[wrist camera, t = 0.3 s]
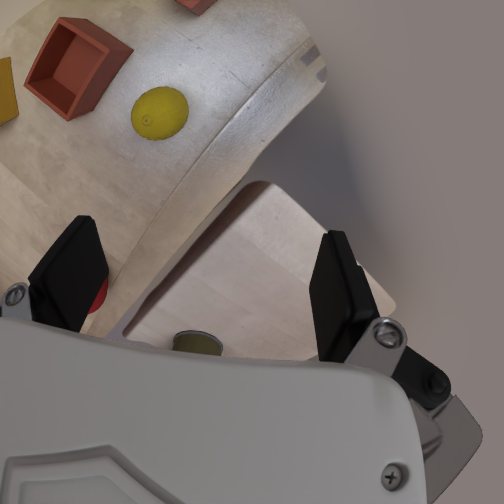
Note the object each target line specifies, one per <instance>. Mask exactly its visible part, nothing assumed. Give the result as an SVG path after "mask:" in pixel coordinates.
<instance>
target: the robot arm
mask: <svg viewBox="0 0 504 504" xmlns="http://www.w3.org/2000/svg"><path fill="white" fill-rule="evenodd" d="M108 273H109V268H108V264H107V261H106V258H105V255H104V252H103V248H102V245H101V242H100V238H99V235H98V231H97V227H96V224H95V221H94V220H93V219H92V218H91V216H86V215H79V216H77V217H76V218H75V219H74V220H73V221H72V222H71V223H70V225H69V226H68V227H67V228H66V229H65V230H64V232H63V233H62V234H61V235H60V236H59V238H58V239H57V240H56V241H55V243H54V244H53V245H52V246H51V248H50V249H49V250H48V251H47V253H46V254H45V255H44V257H43V258H42V259H41V260H40V262H39V263H38V264H37V266H36V267H35V269H34V270H33V271H32V273H31V274H30V276H29V277H28V280H29V282H30V286H29V287H28V285H27V284H26V283H23V282H20V283H16V284H14V285H12V286H11V287H9V288H8V289H7V290H6V292H5V293H4V295H3V297H2V306H1V307H0V504H432V503H434V502H435V500H436V499H437V498H438V497H439V496H440V495H441V494H442V493H443V492H444V491H445V490H446V488H447V487H448V486H449V485H450V484H451V483H452V482H453V480H454V479H455V478H456V477H457V476H458V475H459V473H460V472H461V471H462V470H463V468H464V467H465V466H466V464H467V463H468V462H469V461H470V459H471V458H472V456H473V455H474V454H475V452H476V451H477V449H478V448H479V447H480V444H481V442H482V437H483V435H482V429H481V427H480V425H479V424H478V423H477V421H476V420H475V419H474V417H473V416H472V415H471V413H470V412H469V411H468V409H467V408H466V407H465V406H464V404H463V403H462V402H461V400H460V399H459V398H458V397H457V395H454V396H452V395H451V393H450V392H451V384H450V381H449V378H448V377H447V375H446V374H445V373H444V372H443V371H442V370H440V369H439V368H438V367H436V366H434V364H432V363H431V362H429V361H428V360H426V359H425V358H424V357H422V356H421V355H419V354H418V353H416V352H415V351H414V350H412V349H411V348H410V347H408V346H407V345H406V344H407V334H406V332H405V330H404V328H403V327H402V326H401V324H399V323H398V322H397V321H396V320H393V319H391V318H387V317H380V315H379V312H378V309H377V306H376V303H375V300H374V297H373V295H372V292H371V289H370V286H369V284H368V281H367V278H366V276H365V273H364V270H363V268H362V267H361V266H358V265H357V263H356V260H355V258H354V255H353V252H352V250H351V247H350V245H349V243H348V240H347V237H346V235H345V233H344V232H343V231H335V230H329V231H328V234H327V233H324V234H323V237H322V241H321V244H320V248H319V252H318V256H317V259H316V263H315V267H314V270H313V274H312V277H311V281H310V285H309V294H310V300H311V306H312V313H313V319H314V326H315V333H316V340H317V348H318V355H319V361H320V362H317V361H292V360H271V359H253V358H238V357H226V356H215V355H205V354H196V353H188V352H180V351H172V350H165V349H159V348H152V347H145V346H140V345H134V344H128V343H123V342H118V341H113V340H108V339H103V338H99V337H94V336H90V335H85V334H81V333H79V332H80V330H81V328H82V325H83V323H84V321H85V319H86V317H87V315H88V313H89V311H90V309H91V307H92V305H93V303H94V301H95V299H96V297H97V295H98V293H99V291H100V289H101V287H102V285H103V283H104V282H105V280H106V278H107V276H108Z"/></svg>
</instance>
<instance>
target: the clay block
mask: <svg viewBox="0 0 504 504" xmlns="http://www.w3.org/2000/svg"><path fill="white" fill-rule="evenodd" d="M175 1H177V2H178V3H180V4H182V5H183V6H185V7H186V8H188V9H189V10H191V11H192V12H194V13H195V14H197V15H198V16H200V15H201V14H202V13H204V12H205V11H206V10H207V9H208V8H209V7H210V6H211V5H212V4H213V3H215V2H216V1H217V0H175Z"/></svg>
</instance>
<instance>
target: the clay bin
mask: <svg viewBox="0 0 504 504" xmlns="http://www.w3.org/2000/svg"><path fill="white" fill-rule="evenodd" d="M133 51H134V50H133V49H131V48H130V47H128V46H127V45H126V44H124V43H123V42H121V41H120V40H118V39H117V38H115V37H114V36H112V35H111V34H109V33H108V32H106V31H104V30H103V29H101V28H100V27H98V26H96V25H95V24H93V23H92V22H90V21H88V20H87V19H80V18H67V17H59V18H58V20H57V21H56V23H55V24H54V26H53V28H52V29H51V31H50V33H49V34H48V36H47V38H46V40H45V42H44V43H43V45H42V47H41V49H40V51H39V53H38V55H37V57H36V59H35V61H34V63H33V65H32V67H31V69H30V71H29V74H28V76H27V78H26V80H25V83H24V87H26V88H27V89H28V90H29V91H31V92H32V93H33V94H34V95H35V96H37V97H38V98H39V99H40V100H42V101H43V102H44V103H45V104H46V105H48V106H49V107H50V108H51V109H53V110H54V111H55V112H56V113H58V114H59V115H60V116H61V117H62V118H64V119H65V120H66V121H67V122H68V121H70V120H73V119H75V118H77V117H79V116H81V115H84V114H86V113H88V112H91V111H93V110H94V108H95V106H96V105H97V103H98V101H99V100H100V98H101V96H102V95H103V93H104V92H105V90H106V89H107V87H108V85H109V84H110V82H111V81H112V80H113V78H114V77H115V75H116V74H117V72H118V71H119V69H120V68H121V67H122V65H123V64H124V63H125V61H126V60H127V58H128V57H129V56H130V55H131V53H132V52H133Z"/></svg>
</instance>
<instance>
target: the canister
mask: <svg viewBox="0 0 504 504" xmlns="http://www.w3.org/2000/svg"><path fill="white" fill-rule="evenodd" d="M173 342H174V345H173V349H172V351H180V352H188V353H196V354H205V355H215V356H221V353H222V350H223V346H222V344H221V342H220V341H219V340H218V339H217V338H215V337H214V336H212V335H209V334H207V333H204V332H199V331H184V332H181V333H179V334H177V335H176V336H175V337H174V341H173Z"/></svg>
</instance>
